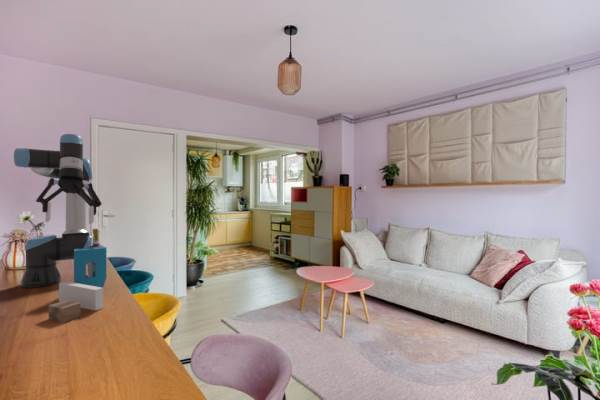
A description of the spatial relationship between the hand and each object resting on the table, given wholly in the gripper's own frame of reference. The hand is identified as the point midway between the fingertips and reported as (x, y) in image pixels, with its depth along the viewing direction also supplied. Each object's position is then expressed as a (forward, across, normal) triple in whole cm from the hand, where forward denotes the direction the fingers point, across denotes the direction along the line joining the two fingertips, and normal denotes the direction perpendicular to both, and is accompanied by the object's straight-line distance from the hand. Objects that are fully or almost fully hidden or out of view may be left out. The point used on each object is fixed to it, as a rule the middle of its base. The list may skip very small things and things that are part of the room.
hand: (70, 221), depth 114 cm
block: (+23, +17, +31) cm, 42 cm away
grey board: (+29, +9, +17) cm, 35 cm away
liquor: (+20, +21, +37) cm, 47 cm away
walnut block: (+34, +1, +9) cm, 35 cm away
